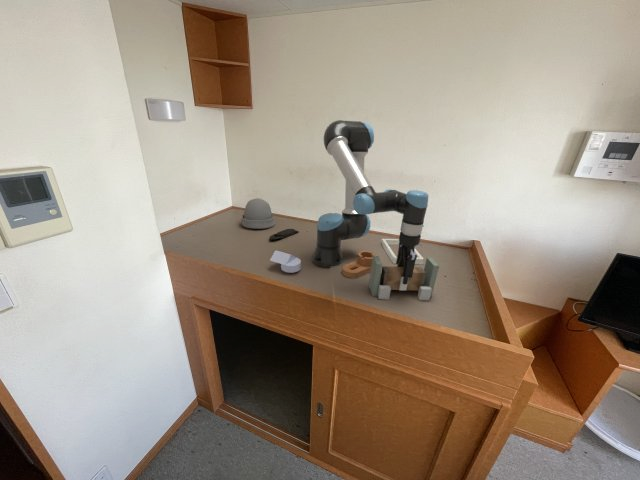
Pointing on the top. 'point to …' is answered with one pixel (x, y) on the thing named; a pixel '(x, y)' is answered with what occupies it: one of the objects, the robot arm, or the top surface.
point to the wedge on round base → (286, 261)
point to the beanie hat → (257, 215)
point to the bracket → (359, 265)
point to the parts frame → (392, 256)
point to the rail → (393, 277)
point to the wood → (283, 234)
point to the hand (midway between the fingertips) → (400, 286)
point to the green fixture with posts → (384, 290)
